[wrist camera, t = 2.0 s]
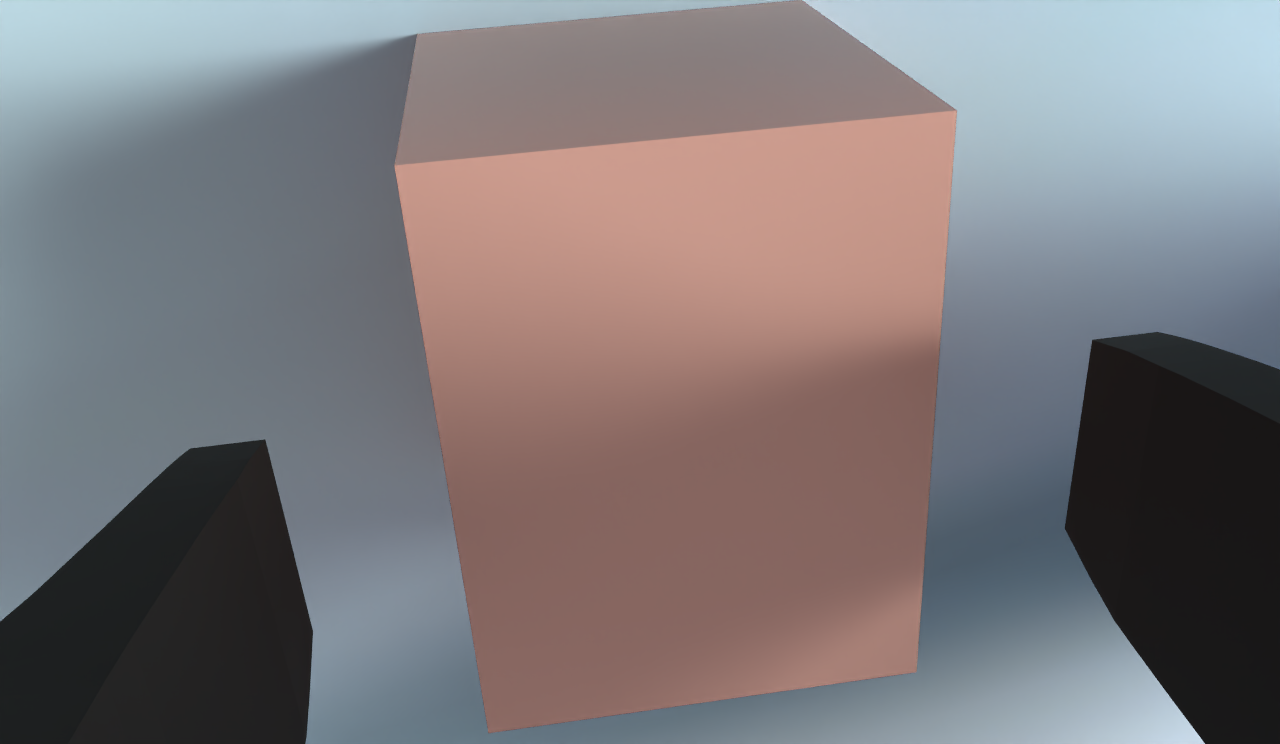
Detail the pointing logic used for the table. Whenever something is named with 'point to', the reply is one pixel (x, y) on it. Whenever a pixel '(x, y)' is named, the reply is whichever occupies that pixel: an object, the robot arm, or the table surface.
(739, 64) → the coral box
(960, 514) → the table surface
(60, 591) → the robot arm
